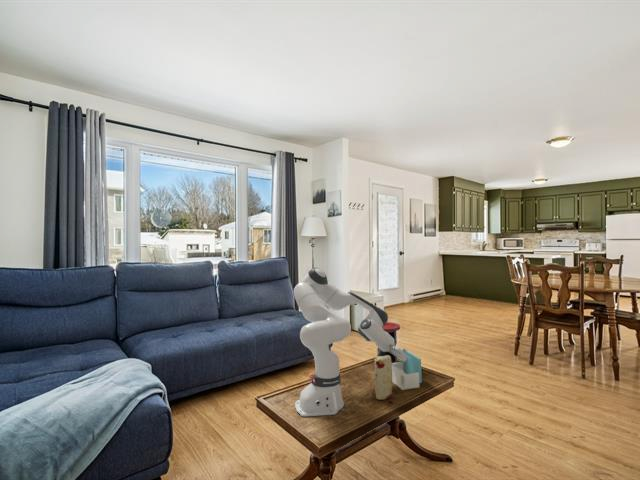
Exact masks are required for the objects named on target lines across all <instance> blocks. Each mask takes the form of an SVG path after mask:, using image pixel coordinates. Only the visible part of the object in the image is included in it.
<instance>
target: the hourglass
mask: <svg viewBox="0 0 640 480" xmlns="http://www.w3.org/2000/svg"><path fill="white" fill-rule="evenodd" d="M382 328H383V330H384V331H386V332H387V333H388V334H389V335H391V336H392V337H393V338H394V343H395V346H397V344H398V341H397V340H398V338H397V331H399V330H400V329H401V325H400V324H399V323H396V322H390V321H387V322H386V323H385V324H384V325H383V326H382ZM376 350H377V354H376V357H377V356H386V355H389V356H390V357H391V362H392V363H397V362H398V358H397V357H396V356H394V355H393V354H392V353H390V352H387V351H386V352H383V351H382V350H381V349H380V348H379V347H377V349H376ZM373 369H374V370H375V362H373Z"/></svg>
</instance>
